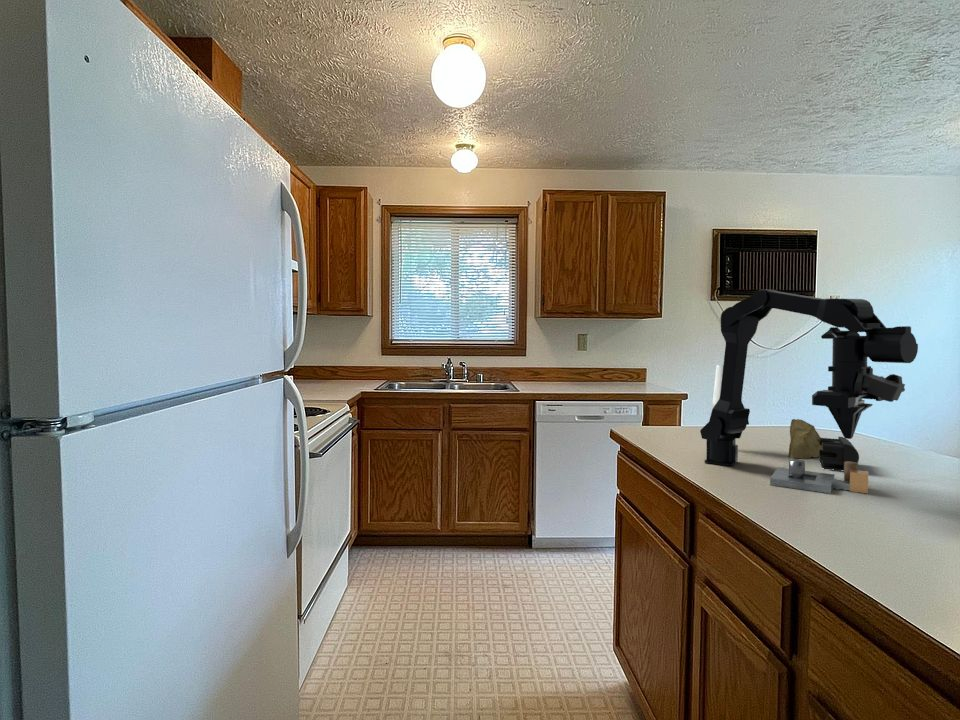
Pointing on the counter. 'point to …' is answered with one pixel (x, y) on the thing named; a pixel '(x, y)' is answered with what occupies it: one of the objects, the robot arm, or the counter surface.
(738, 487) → the counter surface
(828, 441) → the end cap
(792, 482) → the flange plate
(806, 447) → the rock
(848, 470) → the dowel
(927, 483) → the counter surface
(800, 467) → the post
